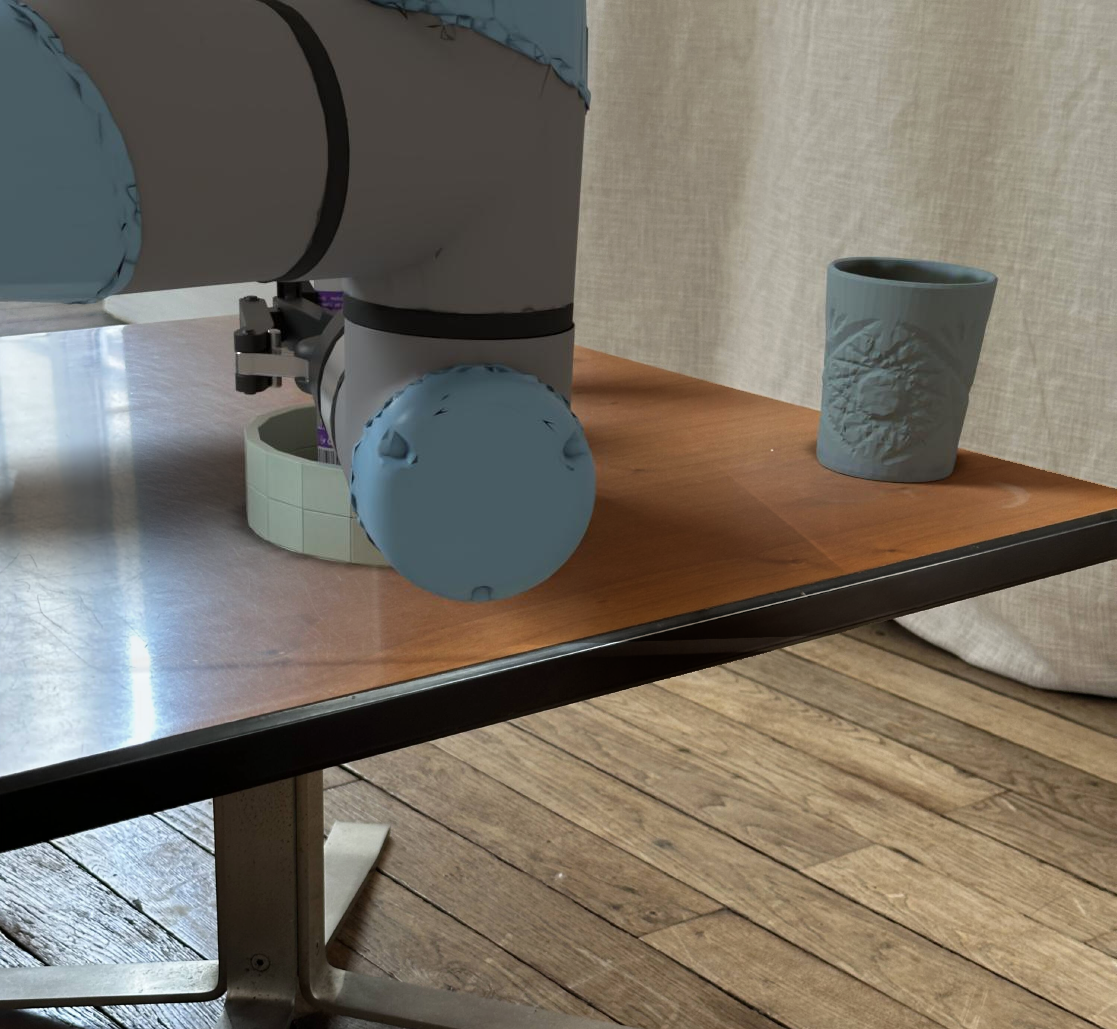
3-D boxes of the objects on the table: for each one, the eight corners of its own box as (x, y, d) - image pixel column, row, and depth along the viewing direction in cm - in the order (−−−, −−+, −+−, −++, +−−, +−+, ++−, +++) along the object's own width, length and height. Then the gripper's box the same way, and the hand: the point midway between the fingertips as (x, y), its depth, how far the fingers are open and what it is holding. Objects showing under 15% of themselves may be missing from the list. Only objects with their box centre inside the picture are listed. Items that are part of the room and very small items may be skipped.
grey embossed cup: (907, 442, 105) (933, 256, 101) (1001, 481, 97) (1035, 280, 92) (775, 450, 102) (796, 256, 97) (861, 491, 93) (889, 282, 88)
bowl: (256, 583, 73) (253, 476, 71) (240, 487, 87) (237, 397, 85) (601, 575, 76) (608, 473, 74) (531, 485, 91) (535, 398, 89)
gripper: (187, 492, 62) (179, 371, 82) (626, 487, 66) (513, 373, 86) (177, 294, 58) (171, 220, 79) (639, 301, 62) (519, 229, 83)
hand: (350, 300), depth 83 cm, fingers closed on container, 5 cm apart
